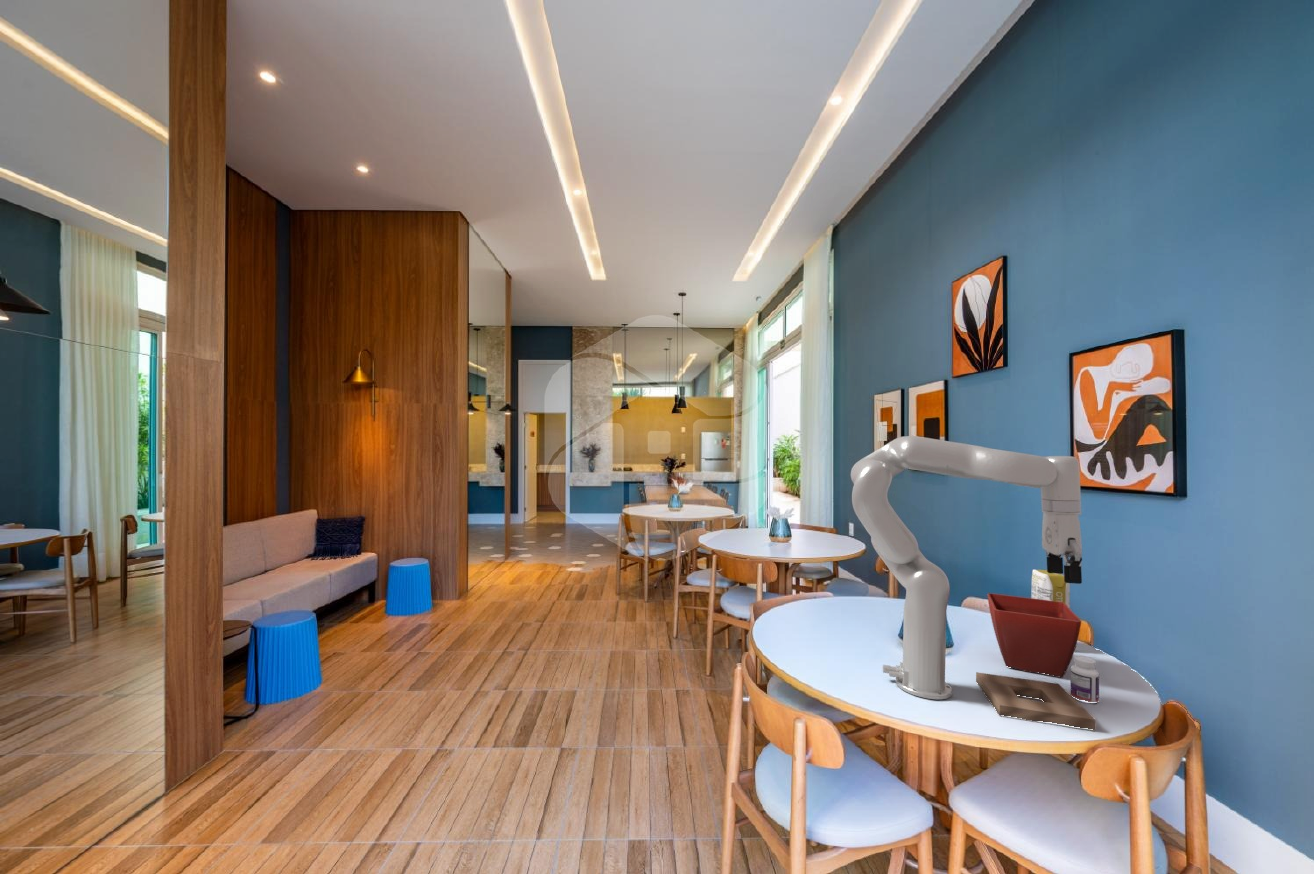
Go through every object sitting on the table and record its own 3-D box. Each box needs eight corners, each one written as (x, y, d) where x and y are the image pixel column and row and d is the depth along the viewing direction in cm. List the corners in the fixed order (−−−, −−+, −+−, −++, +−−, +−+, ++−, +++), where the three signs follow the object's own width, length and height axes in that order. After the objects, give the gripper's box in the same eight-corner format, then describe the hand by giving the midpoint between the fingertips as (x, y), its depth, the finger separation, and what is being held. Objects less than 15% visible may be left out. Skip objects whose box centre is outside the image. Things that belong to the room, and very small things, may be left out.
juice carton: (1073, 652, 155) (1074, 573, 155) (1044, 650, 156) (1045, 571, 157) (1054, 641, 164) (1055, 566, 165) (1027, 638, 165) (1028, 564, 166)
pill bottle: (1085, 694, 128) (1085, 654, 128) (1105, 704, 123) (1105, 664, 123) (1064, 693, 128) (1064, 654, 128) (1083, 704, 122) (1083, 663, 123)
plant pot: (993, 670, 141) (994, 608, 141) (986, 646, 158) (987, 592, 158) (1081, 686, 132) (1082, 621, 132) (1064, 660, 149) (1064, 602, 149)
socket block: (999, 716, 116) (999, 704, 116) (976, 681, 133) (976, 672, 133) (1095, 731, 110) (1095, 719, 110) (1058, 693, 128) (1058, 683, 128)
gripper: (1029, 503, 133) (1031, 569, 133) (1057, 510, 117) (1060, 586, 116) (1063, 503, 131) (1066, 570, 130) (1097, 511, 114) (1101, 588, 114)
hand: (1063, 577), depth 123 cm, fingers open, 9 cm apart
